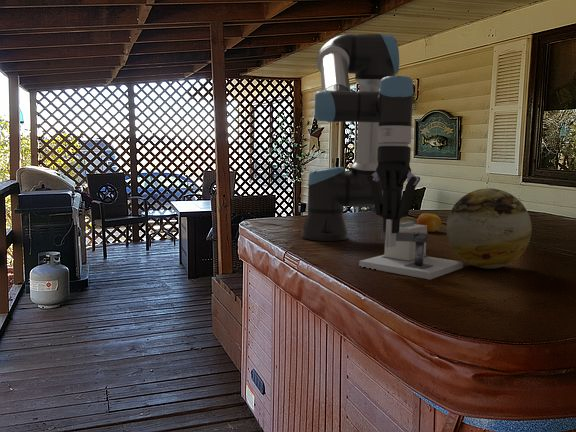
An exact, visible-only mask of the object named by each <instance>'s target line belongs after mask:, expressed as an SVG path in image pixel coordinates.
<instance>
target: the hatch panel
mask: <svg viewBox="0 0 576 432" xmlns="http://www.w3.org/2000/svg"><path fill="white" fill-rule="evenodd" d="M414 262H415V259H413V260H409V261H408V260H402V259H396V258H390V257H384V254H382V255H377V256H374V257H370V258H366V259H362V260H359V262H358V267H359V266H361V267H360V268H363V267H366V268H365V269H369V268H371V269H370V270H374V269H376V271H380V272H386V273H390V274H391V273H392V274H398V275H402V276H409V277H413V278H419V279H426V280H433V279H435V278H436V279H437V277H441V276H444V275H446V274H450V273H453V272H455V271H458V270H461V269H463V268H464V261H459V260H454V259H453V260H452V259H448V258H447V259H446V258H440V257H433V256H429V255H426V256H423V265H415V264H414Z"/></svg>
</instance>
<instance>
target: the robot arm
mask: <svg viewBox="0 0 576 432" xmlns="http://www.w3.org/2000/svg"><path fill="white" fill-rule="evenodd" d="M316 58H317V59H316V65H317V66H316V67H317V69H318V71H319V73H320V78H321V79H320V83H321V90H317V91H316V92H315V94H314V118H315V120H316V121H319V122H327V123H357V134H356V135H357V137H356V139H357V140H356V152H355V153H356V155H355V156H356V157H355V158H356V159H355V161H354V162H353V163H352V164H351V166H350V171H348V170H347V171H345V168H344V167H343V166H337V167H335V166H334V167H326V168H319V169H313V170H312V171H310V172H309V174H308V183H307V187H308V193H307V213H306V214H307V215H306V218H305V221H304V224H303V228H302V229H301V238H302V239H305V240H309V241H310V240H311V241H316V242H317V241H320V242H321V241H322V242H335V241H336V242H337V241H344V240H347V239H348V230H347V226H346V222H345V218H344V215H343V213H344V207H347V208H349V207H351V208H371V209H373V208H374V209H375V214H376V216H380V218H382V219H383V220H382V231H383V232H386V241H384V248H385V247H389V248H390V247H395V246H396V233H399V226H400V223H401V221H400V220H401V219H402V218H406V217H408V215H409V212H410V208H411V205H412V203H413V202H412V201H413V198H414V196H415V195H414V194H415V191H416V187H417V186H418V184H419V183H420V180H421V178H420V176H418V175H417V176H416V175H415V174H414V173H412V168H411V166H410V164H411V150H412V148H411V147H410V146H409V145H411V144H412V122H413V120H412V119H413V102H414V100H413V99H414V98H413V97H414V93H415V92H414V81H413V78H412V77H409V76H406V75H397V74H398V73H399V70H400V51H399V44H398V40H397V38H396V37H395V36H394V35H391V34H385V33H384V34H382V33H379V34H378V33H375V34H374V33H368V34H367V33H366V34H365V33H354V34H353V33H344V34H340V35H337V36H335V37H332V38H330V39H329V40H328V41H327V42H326V43H325V44H323V45H322V47H321V48H320V49H319V51H318V53H317V57H316ZM349 74H352V75H353V74H354V75H355V77H354V80H355V81H356V82H357V84H358V85H359V90H358V91H357V90H351V84H350V78H349ZM405 182H406V184H405V186H404V183H405ZM403 190H404V192H403Z"/></svg>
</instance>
